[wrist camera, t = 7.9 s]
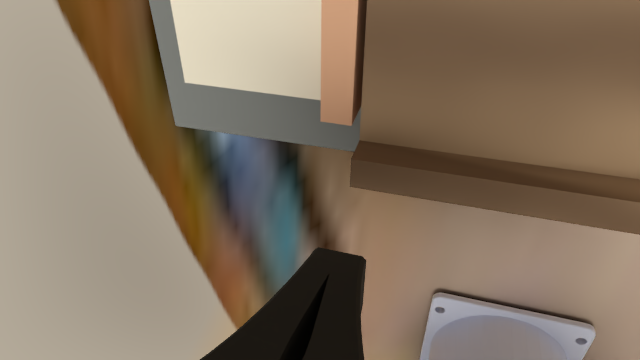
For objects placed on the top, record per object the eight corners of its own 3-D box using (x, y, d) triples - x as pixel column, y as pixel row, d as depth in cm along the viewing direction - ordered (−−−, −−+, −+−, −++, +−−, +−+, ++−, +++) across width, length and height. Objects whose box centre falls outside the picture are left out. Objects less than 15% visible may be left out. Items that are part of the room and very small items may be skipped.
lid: (366, 95, 19) (351, 126, 16) (196, 74, 20) (162, 98, 18) (380, -94, 15) (363, -89, 12) (168, -100, 16) (120, -96, 14)
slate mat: (362, 149, 20) (360, 152, 20) (178, 123, 23) (175, 125, 22) (382, -186, 14) (380, -187, 13) (116, -177, 16) (111, -177, 16)
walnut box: (621, 165, 17) (657, 237, 14) (372, 131, 20) (349, 186, 16) (767, -151, 12) (888, -160, 8) (392, -146, 14) (364, -151, 11)
